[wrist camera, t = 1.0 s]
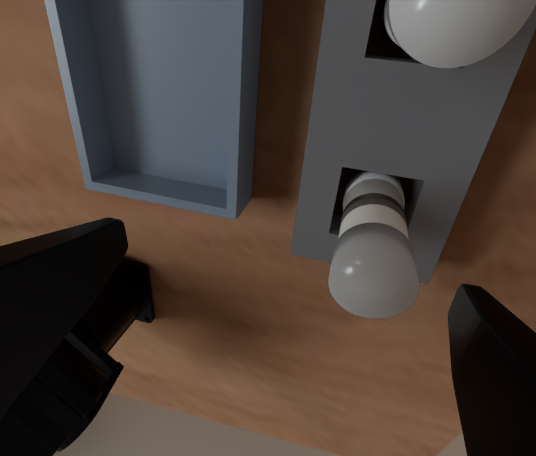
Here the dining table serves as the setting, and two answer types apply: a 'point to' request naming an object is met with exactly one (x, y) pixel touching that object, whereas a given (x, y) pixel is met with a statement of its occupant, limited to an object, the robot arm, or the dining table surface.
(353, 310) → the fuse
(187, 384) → the dining table surface
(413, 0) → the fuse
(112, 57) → the parts tray
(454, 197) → the fuse holder
